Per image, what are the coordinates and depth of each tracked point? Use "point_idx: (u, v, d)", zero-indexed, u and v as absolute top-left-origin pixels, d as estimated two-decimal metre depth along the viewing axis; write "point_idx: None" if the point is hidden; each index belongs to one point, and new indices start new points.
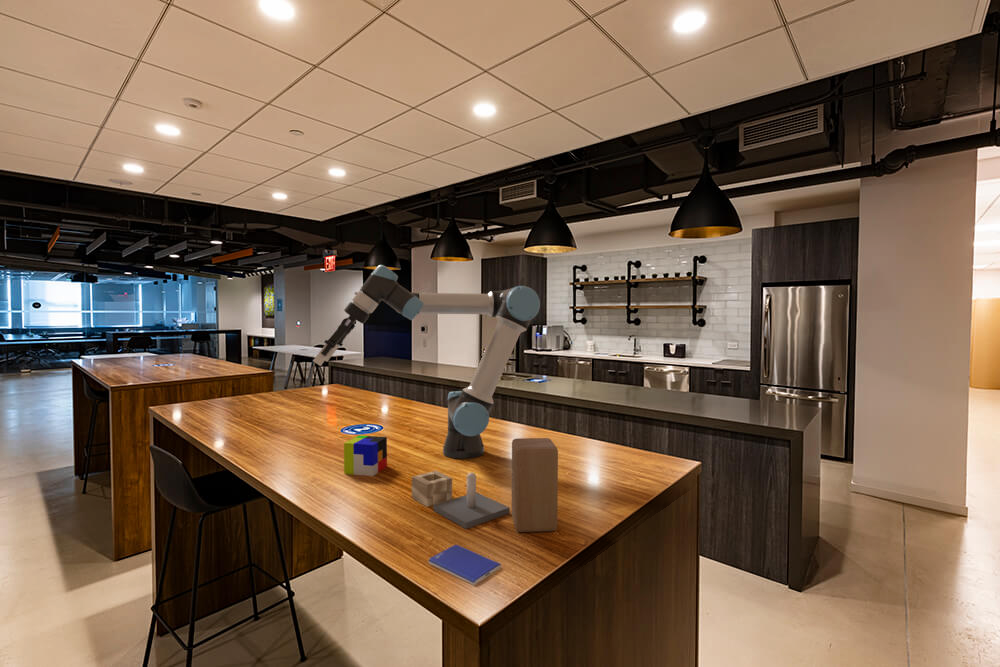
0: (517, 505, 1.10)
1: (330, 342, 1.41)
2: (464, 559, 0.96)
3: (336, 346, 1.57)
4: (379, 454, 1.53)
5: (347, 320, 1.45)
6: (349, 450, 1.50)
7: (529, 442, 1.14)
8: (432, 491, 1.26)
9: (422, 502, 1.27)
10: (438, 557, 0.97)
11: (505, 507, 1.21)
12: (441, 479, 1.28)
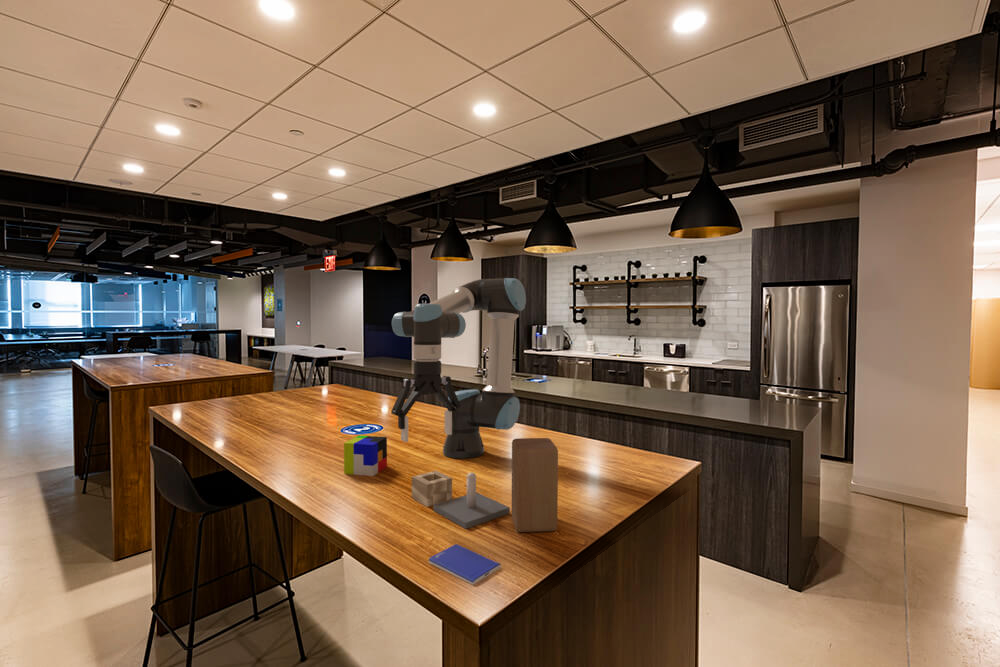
0: (517, 505, 1.10)
1: None
2: (463, 558, 0.96)
3: None
4: (379, 454, 1.53)
5: None
6: (349, 450, 1.50)
7: (529, 442, 1.14)
8: (432, 491, 1.26)
9: (422, 502, 1.27)
10: (438, 556, 0.97)
11: (505, 507, 1.21)
12: (441, 479, 1.28)
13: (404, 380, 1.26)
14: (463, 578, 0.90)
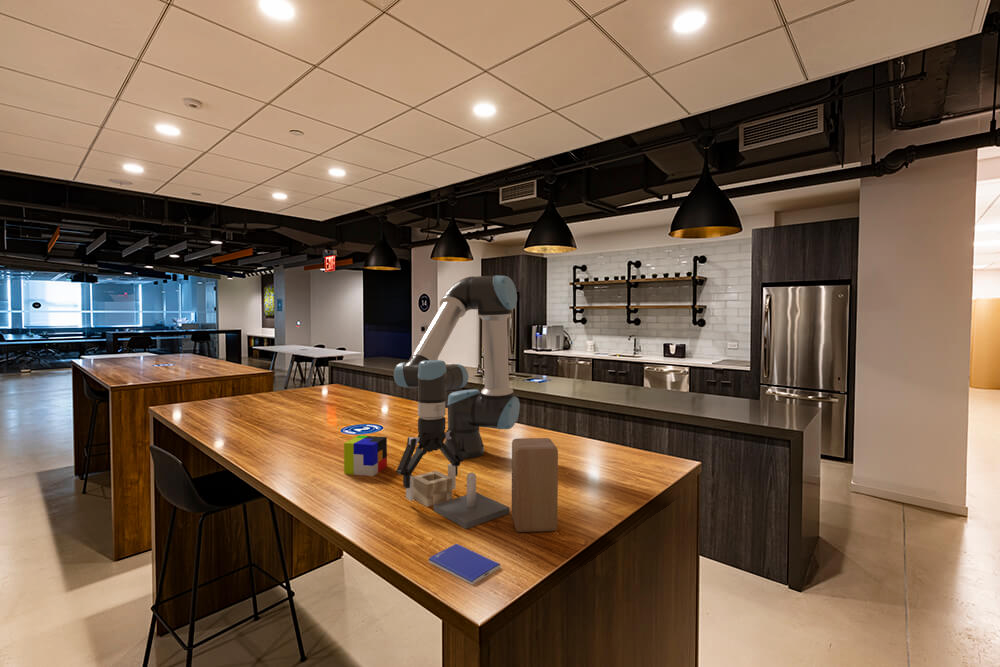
0: (517, 505, 1.10)
1: None
2: (463, 558, 0.96)
3: None
4: (379, 454, 1.53)
5: None
6: (349, 450, 1.50)
7: (529, 442, 1.14)
8: (432, 491, 1.26)
9: (422, 502, 1.27)
10: (438, 556, 0.97)
11: (505, 507, 1.21)
12: (441, 479, 1.28)
13: (409, 438, 1.26)
14: (462, 578, 0.90)
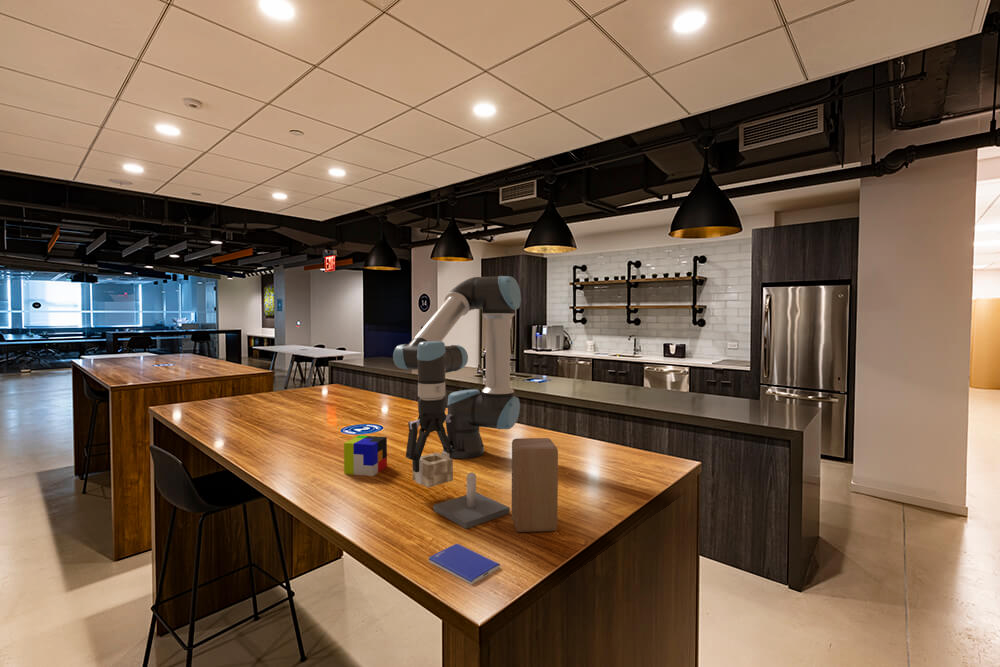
0: (517, 505, 1.10)
1: None
2: (463, 558, 0.96)
3: None
4: (379, 454, 1.53)
5: None
6: (349, 450, 1.50)
7: (529, 442, 1.14)
8: (433, 472, 1.26)
9: (423, 483, 1.27)
10: (438, 555, 0.97)
11: (505, 507, 1.21)
12: (442, 460, 1.29)
13: (409, 423, 1.26)
14: (462, 578, 0.90)
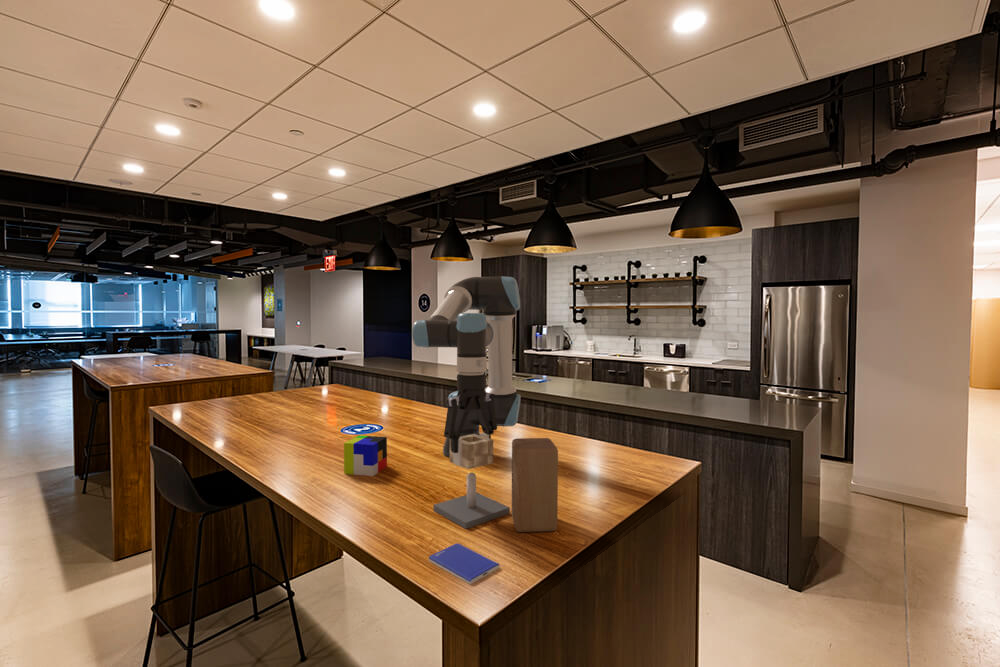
0: (517, 505, 1.10)
1: None
2: (463, 558, 0.96)
3: None
4: (379, 454, 1.53)
5: None
6: (349, 450, 1.50)
7: (529, 442, 1.14)
8: (473, 453, 1.17)
9: (462, 465, 1.17)
10: (438, 555, 0.97)
11: (505, 507, 1.21)
12: (482, 440, 1.19)
13: (448, 400, 1.17)
14: (461, 577, 0.90)
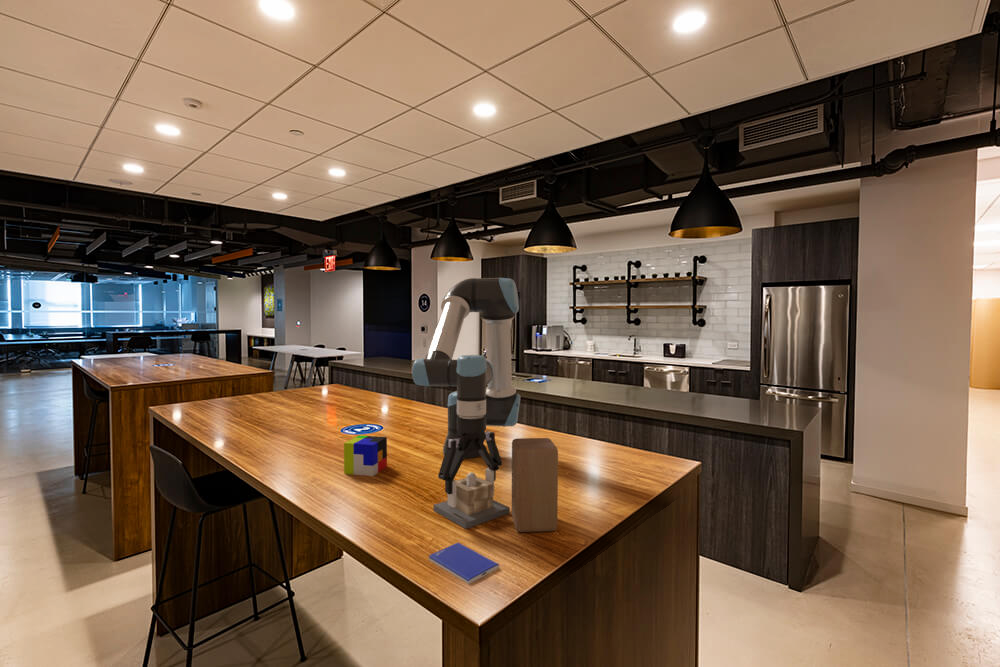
0: (517, 505, 1.10)
1: None
2: (463, 557, 0.97)
3: None
4: (379, 454, 1.53)
5: None
6: (349, 450, 1.50)
7: (529, 442, 1.14)
8: (473, 498, 1.17)
9: (462, 510, 1.18)
10: (438, 554, 0.98)
11: (505, 507, 1.21)
12: (482, 485, 1.20)
13: (448, 441, 1.17)
14: (460, 577, 0.90)
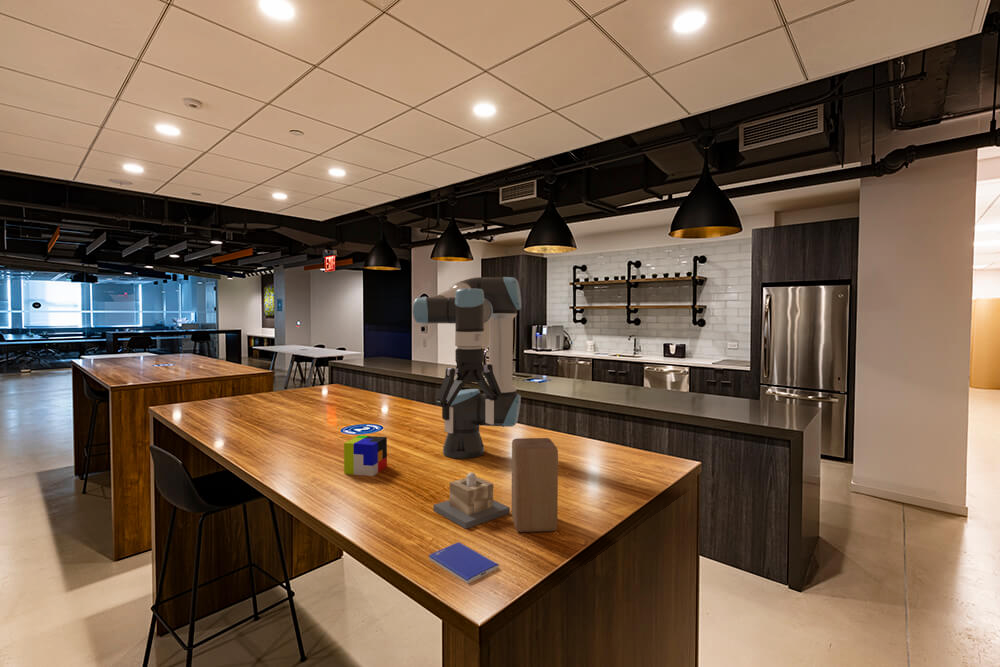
0: (517, 505, 1.10)
1: None
2: (463, 557, 0.97)
3: None
4: (379, 454, 1.53)
5: None
6: (349, 450, 1.50)
7: (529, 442, 1.14)
8: (473, 498, 1.17)
9: (462, 510, 1.18)
10: (438, 553, 0.98)
11: (505, 507, 1.21)
12: (482, 485, 1.20)
13: (447, 369, 1.20)
14: (459, 576, 0.91)
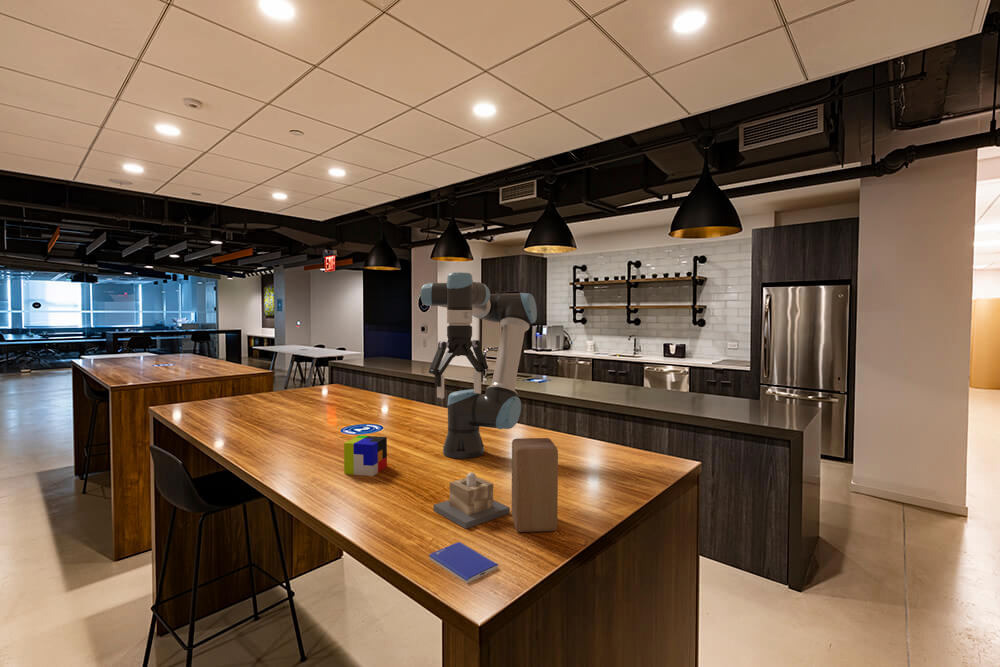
0: (517, 505, 1.10)
1: None
2: (463, 556, 0.97)
3: None
4: (379, 454, 1.53)
5: None
6: (349, 450, 1.50)
7: (529, 442, 1.14)
8: (473, 498, 1.17)
9: (462, 510, 1.18)
10: (438, 553, 0.98)
11: (505, 507, 1.21)
12: (482, 485, 1.20)
13: (440, 342, 1.37)
14: (458, 576, 0.91)
